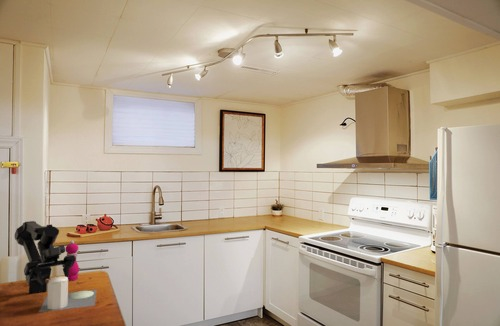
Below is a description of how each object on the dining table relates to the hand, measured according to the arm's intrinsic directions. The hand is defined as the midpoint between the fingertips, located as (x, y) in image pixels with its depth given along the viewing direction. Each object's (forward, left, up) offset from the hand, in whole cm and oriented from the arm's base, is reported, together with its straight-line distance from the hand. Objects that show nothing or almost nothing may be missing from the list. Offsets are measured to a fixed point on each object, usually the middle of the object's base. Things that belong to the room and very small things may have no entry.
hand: (55, 281), depth 141 cm
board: (+5, +3, -10) cm, 12 cm away
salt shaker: (+1, -3, -9) cm, 10 cm away
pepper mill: (+2, +38, -10) cm, 39 cm away
